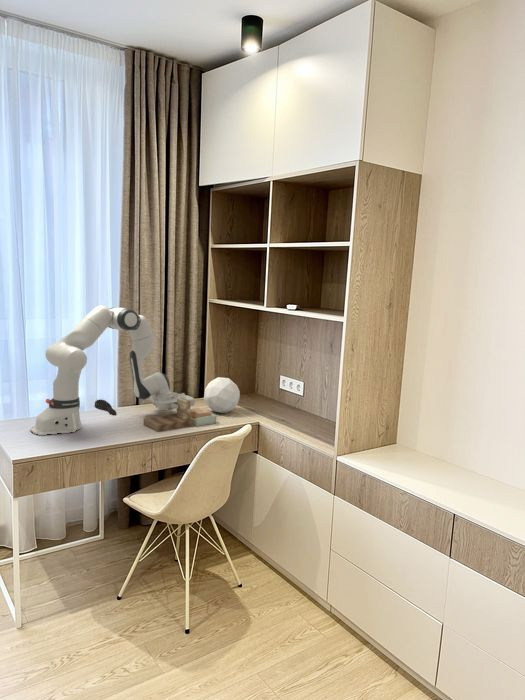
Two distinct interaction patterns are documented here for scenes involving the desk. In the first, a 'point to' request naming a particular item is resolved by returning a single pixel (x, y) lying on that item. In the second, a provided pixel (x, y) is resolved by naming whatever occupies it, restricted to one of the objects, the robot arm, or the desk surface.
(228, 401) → the geometric polyhedron
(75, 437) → the desk surface
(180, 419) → the board
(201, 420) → the tray
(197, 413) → the pink building block
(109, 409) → the hairbrush
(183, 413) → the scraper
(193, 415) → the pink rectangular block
